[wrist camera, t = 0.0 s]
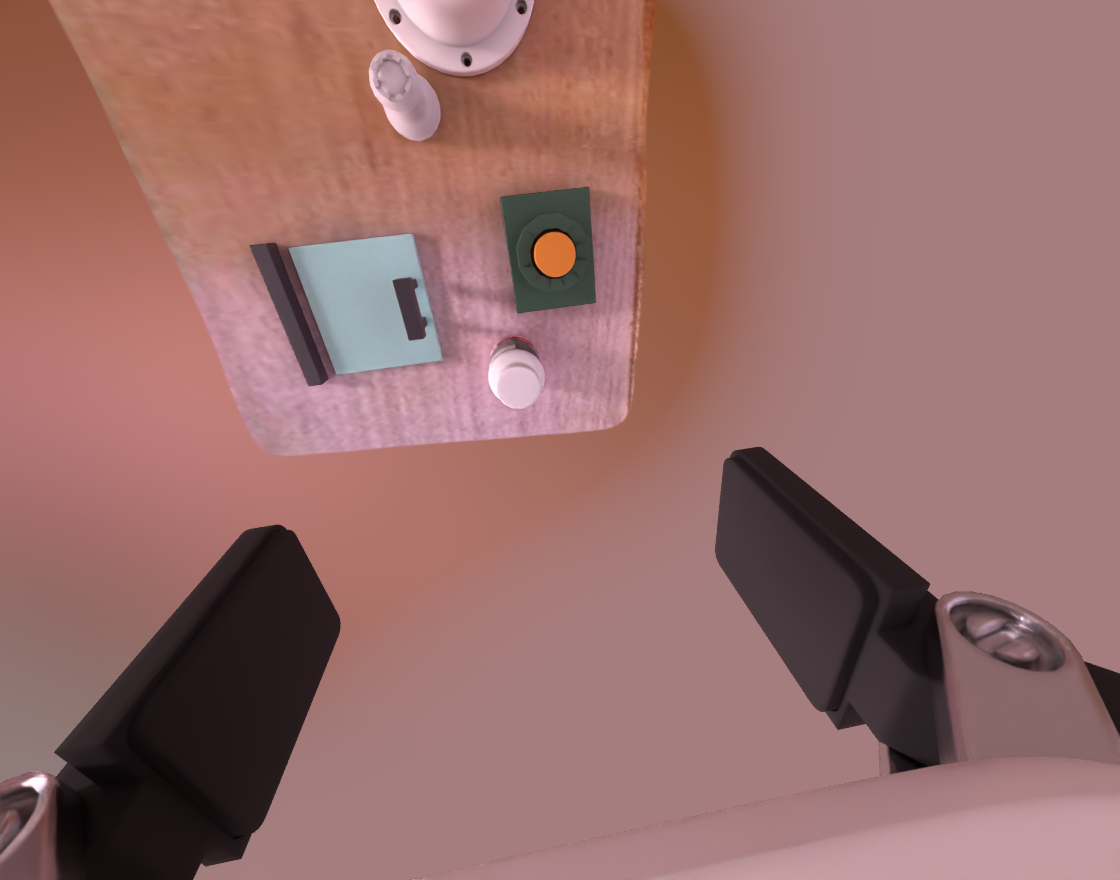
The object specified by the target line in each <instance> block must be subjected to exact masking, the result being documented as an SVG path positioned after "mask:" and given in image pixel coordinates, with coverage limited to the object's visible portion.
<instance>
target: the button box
mask: <svg viewBox="0 0 1120 880" xmlns="http://www.w3.org/2000/svg"><path fill="white" fill-rule="evenodd" d="M500 202H501V208H502V215H503V222H504V228H505V235H506V242H507V249H508V255H509V262H510V269H511V275H512V282H513V289H514V296H515V302H516V309H517V313H523V312H530V311H538V310H546V309H553V308H561V307H568V306H576V305H584V304H591V303H596V293H595V277H594V260H593V243H592V226H591V209H590V192H589V187H583V188H574V189H565V190H556V191H547V192H538V193H529V194H520V195H511V196H502V197H500ZM549 232H560V233H563V234H565V235H566V236H568V237H569V238H570V239H571V241H572V242H573V244H574V247H575V251H576V258H575V262H574V265H573V267H572V268H571V270H570V271H569V272H568V273H566V274H565V275H563V276H560V277H551V276H548V275H546V274H544V273H543V272H542V271H541V270H540V269H539V268H538V267H537V265H536V263H535V260H534V247H535V244H536V242H537V241H538V239H539V238H540V237H541V236H543V235H544V234H546V233H549Z"/></svg>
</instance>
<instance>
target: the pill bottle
mask: <svg viewBox="0 0 1120 880" xmlns="http://www.w3.org/2000/svg"><path fill="white" fill-rule="evenodd" d="M488 379H489V384H490V387H491V389H492V391H493V393H494V394H495V395H496V396H497V397H498V398H499V399H500V400H501V401H502V402H503V403H504V404H505V405H507V406H509V407H511V408H516V409H521V408H526V407H528V406H530V405H532V404H533V403H534V402H535V401H536V400H537V398H538V397H539V394H540V393H541V391H542V389H543V386H544V383H545V372H544V368H543V365H542V362H541V359H540V356H539V353H538V351H537V349H536V347H535V346H534V344H533V343H532V342H531V341H530V340H528V339H526V338H525V337H522V336H518V335H511V336H507V337H504V338H502V339H500V340H499V341H498V342H497V343H496V344H495V345H494V347H493V349H492V351H491V355H490V362H489V374H488Z"/></svg>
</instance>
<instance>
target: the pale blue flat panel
mask: <svg viewBox="0 0 1120 880" xmlns="http://www.w3.org/2000/svg"><path fill="white" fill-rule="evenodd" d="M288 249H289V252H290V254H291V257H292V260H293V262H294V265H295V267H296V270H297V273H298V275H299V278H300V281H301V283H302V286H303V289H304V291H305V294H306V296H307V299H308V302H309V304H310V307H311V310H312V312H313V315H314V318H315V320H316V323H317V325H318V328H319V331H320V333H321V336H322V339H323V341H324V344H325V347H326V349H327V352H328V354H329V357H330V360H331V362H332V365H333V368H334V370H335V373H336V375H340V374H347V373H354V372H362V371H369V370H376V369H383V368H390V367H398V366H405V365H412V364H419V363H427V362H434V361H441V360H443V354H442V350H441V346H440V342H439V337H438V333H437V329H436V325H435V321H434V317H433V313H432V309H431V305H430V301H429V297H428V292H427V288H426V284H425V280H424V276H423V272H422V268H421V264H420V260H419V256H418V252H417V247H416V243H415V239H414V235H413V234H403V235H394V236H385V237H377V238H368V239H360V240H351V241H342V242H334V243H325V244H316V245H308V246H299V247H290V248H288Z"/></svg>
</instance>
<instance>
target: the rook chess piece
mask: <svg viewBox="0 0 1120 880" xmlns="http://www.w3.org/2000/svg"><path fill="white" fill-rule="evenodd" d="M369 79H370V85H371V87H372V90H373V92H374V95H375V96H376V97H377V99H378V100H379V101H380V102H381V104H382V105H383V107H384V110H385V112H386V115H387V117H388V120H389V121H390V123H391V124H392V126H393V127H394V128H395V129H396V130H397V132H398V133H399V134H401V135H402V136H404V137H406V138H407V139H409V140H416V141H422V140H424V139H427V138H430V137H431V136H432V135H433V133H434V132H435V131H436V130H437V128H438V125H439V122H440V119H441V117H440V104H439V101H438V98H437V95H436V92H435V91H434V90H433V88H432V87H431V86H430V84H429V83H428V82H427V80H426V79H425V78H423V77H422V76H420V75H419V74H417V73H416V70H415V67H414V66H413V65H412V63H411V62H410V61H409V60H408V58H407V57H405V56H404V55H402V54H401V53H399V52H398V51H394V50H388V49H387V50H384V51H381V52H379V53H378V54H377V55H376V56H375V57H374V58H373V59H372V61H371V65H370V69H369Z"/></svg>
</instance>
